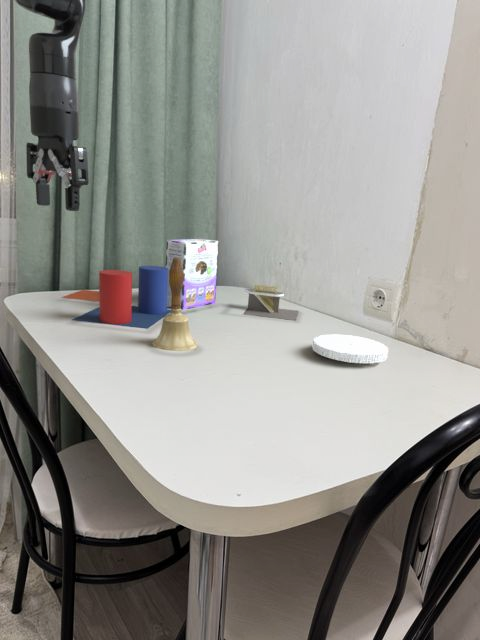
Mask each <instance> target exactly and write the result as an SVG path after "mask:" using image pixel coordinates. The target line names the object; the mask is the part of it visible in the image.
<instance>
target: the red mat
mask: <svg viewBox="0 0 480 640" xmlns="http://www.w3.org/2000/svg"><path fill="white" fill-rule="evenodd" d="M60 298H62V299H72V300H80V301H88V302H97V303H99V290H89V289H81V290H78V291H75V292H72V293H70V294H66V295H64V296H61V297H60Z"/></svg>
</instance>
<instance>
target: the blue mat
mask: <svg viewBox="0 0 480 640" xmlns="http://www.w3.org/2000/svg"><path fill="white" fill-rule="evenodd" d="M170 313H171V309H167V312H166V313H164V314H145V313H141V312H139V311H138V305H132V314H131V322H130V323H126V324H107V323H103V322H100V321H99V307H96V308H93V309H92V310H89V311H88V312H85V313H83V314H81V315H78V316H77V317H76V316H75V317H74V318H72V319H71V321H75V322H83V323H93V324H101V325H109V326H119V327H126V328H127V327H128V328H136V329H145V330H148V329H149V328H151V327H152V326H153V325H155V324H156V323H158V322H159V321H161V320H163V318H164V317H165V316H166V315H169V314H170Z"/></svg>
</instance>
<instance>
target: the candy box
mask: <svg viewBox="0 0 480 640" xmlns="http://www.w3.org/2000/svg"><path fill="white" fill-rule="evenodd" d="M165 248H166V251H165V267H166V268H168V285H167V308H170V309H171V305H172V304H171V300H172V292H171V288H170V284H169V271H170V267H171V265H172V261H173V258H180V259H181V264H182V267H183V271H184V282H183V287H182V290H181V294H180V303H181V304H180V306H181V308H180V309H181V311H186V310H189V309H190V310H191V309H196V308H199V307H200V308H201V307H204V306H210V305H214V304H216V296H217V295H216V294H217V275H218V261H219V260H218V259H219V255H218V254H219V240H213V239H207V238H183V239H167V240H166V247H165Z"/></svg>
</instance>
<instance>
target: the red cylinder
mask: <svg viewBox="0 0 480 640" xmlns="http://www.w3.org/2000/svg"><path fill="white" fill-rule="evenodd" d="M98 291H99V302H98V305H99V321H100V322H103V323H107V324H106V325H109V324H126V323H130V322H131V314H132V306H133V273H132V272H130V271H126V270H121V269H103V270H100V271H98Z"/></svg>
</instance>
